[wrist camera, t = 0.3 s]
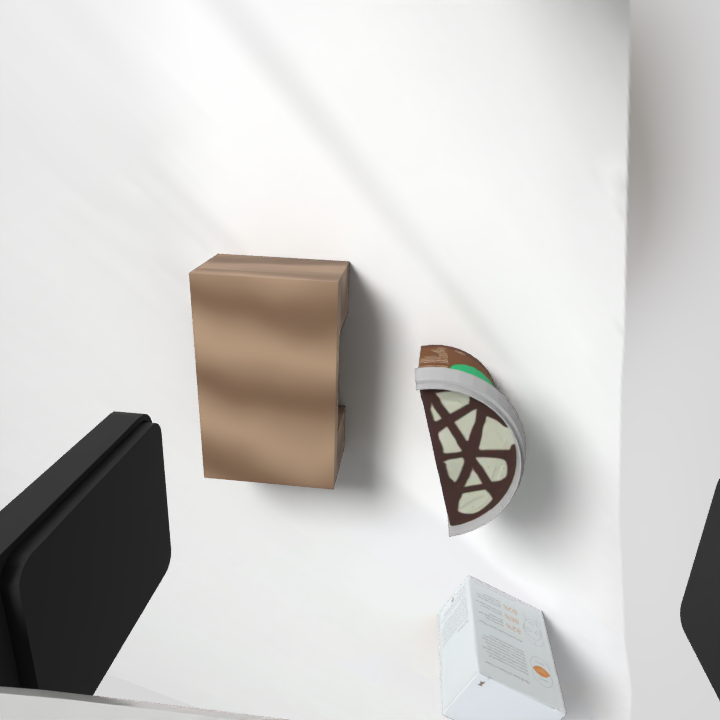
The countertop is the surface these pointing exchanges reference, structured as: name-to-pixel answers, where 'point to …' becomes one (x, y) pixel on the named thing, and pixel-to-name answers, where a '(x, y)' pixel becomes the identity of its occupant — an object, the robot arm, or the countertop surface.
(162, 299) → the countertop surface
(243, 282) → the bridge shelf
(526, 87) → the countertop surface
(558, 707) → the small box
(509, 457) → the food container
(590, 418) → the countertop surface
